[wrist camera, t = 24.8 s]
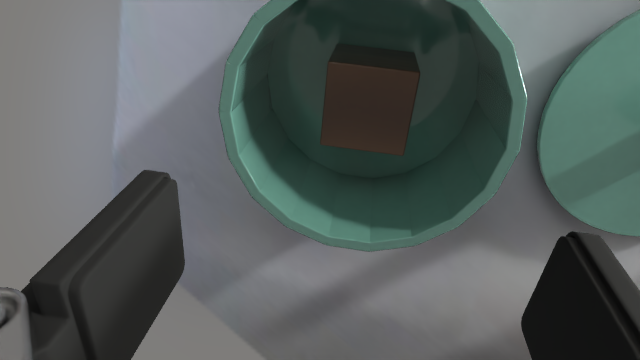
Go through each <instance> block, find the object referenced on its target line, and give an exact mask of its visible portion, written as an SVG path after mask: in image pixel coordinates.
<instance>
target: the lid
mask: <svg viewBox="0 0 640 360" xmlns="http://www.w3.org/2000/svg"><path fill="white" fill-rule="evenodd" d="M537 156H538V162H539V168H540V171H541V174H542V176H543V179H544V182H545V183H546V185H547V187H548V189H549V190H550V192H551V194H552V195H553V196H554V198H555V199H556V200H557V201H558V203H559V204H560V205H561V206H562V207H563V208H564V209H565V210H567V211H568V212H569V213H570V214H571V215H573V216H574V217H576V218H577V219H579V220H580V221H582V222H584V223H586V224H588V225H590V226H592V227H595V228H598V229H601V230H604V231H607V232H611V233H616V234H621V235H628V236H639V237H640V9H639V10H638V11H636V12H634V13H632V14H631V15H629V16H627V17H626V18H624V19H622V20H620V21H619V22H617V23H616V24H615V25H613V26H612V27H610V28H609V29H608V30H606V31H605V32H603V33H602V34H601V35H600V36H599V37H597V38H596V39H595V40H594V41H593V42H592V43H591V44H589V45H588V46H587V47H586V48H585V49H584V50H583V51H582V52H581V53H580V54H579V55H578V56H577V58H576V59H575V60H574V61H573V62H572V63H571V64H570V66H569V67H568V68H567V70H566V71H565V72H564V74H563V75H562V76H561V78H560V79H559V81H558V82H557V84H556V86H555V88H554V89H553V91H552V93H551V94H550V97H549V99H548V101H547V104H546V106H545V108H544V111H543V114H542V118H541V121H540V125H539V130H538V138H537Z"/></svg>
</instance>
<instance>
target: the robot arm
mask: <svg viewBox="0 0 640 360" xmlns="http://www.w3.org/2000/svg"><path fill="white" fill-rule="evenodd" d="M184 265H185V259H184V249H183V239H182V229H181V219H180V209H179V200H178V190H177V183H176V181H175V180H173V179H171V177H170V175H169V174H168V173H164V172H157V171H150V170H144V171H142V172H141V173H140V174H139V175H138V176H137V177H136V178H135V179H134V180H133V181H132V182H130V183H129V184H128V185H127V186H126V187H125V188H124V189H123V190H122V191H121V192H120V193H119V194H118V195H117V196H116V197H115V198H114V199H113V200H112V201H111V202H110V203H109V204H108V205H107V206H106V207H105V208H104V209H103V210H102V211H101V212H100V213H98V214H97V215H96V216H95V217H94V219H92V220H91V221H90V222H89V223H88V224H87V225H86V226H85V227H84V228H83V229H82V230H81V231H80V232H79V233H78V234H77V235H76V236H75V237H74V238H73V239H72V240H71V241H70V242H69V243H68V244H66V245H65V246H64V248H62V249H61V250H60V251H59V252H58V253H57V254H56V255H55V256H54V257H53V258H52V259H51V260H50V261H49V262H48V263H47V264H46V265H45V266H44V267H43V268H42V269H41V270H40V271H39V272H38V273H37V274H36V275H34V276H33V277H32V278H31V279H30V283H29V284H28V285H27V286H26V287H25V288H24V289H23V290H22V291H21V292H20V291H19V290H16V289H12V288H8V287H6V288H3V287H0V360H131V358H132V357H133V355H134V353H135V352H136V350H137V348H138V346H139V345H140V343H141V342H142V340H143V338H144V337H145V335H146V333H147V332H148V330H149V328H150V327H151V325H152V324H153V322H154V320H155V319H156V317H157V315H158V313H159V312H160V310H161V309H162V307H163V305H164V304H165V302H166V300H167V299H168V297H169V295H170V293H171V292H172V290H173V289H174V287H175V285H176V284H177V282H178V280H179V279H180V277H181V275H182V273H183V270H184ZM521 326H522V332H523V335H524V337H525V340H526V343H527V346H528V349H529V352H530V355H531V358H532V360H640V291H639V290H638V288H637V287H636V285H635V284H634V282H633V281H632V280H631V278H630V277H629V275H628V274H627V273H626V271H625V270H624V268H623V267H622V266H621V264H620V263H619V261H618V260H617V259H616V257H615V256H614V254H613V253H612V251H611V250H610V249H609V247H608V246H607V244H606V243H605V242H604V240H603V239H602V238H601V237H600V236H598V235H594V234H587V233H580V232H569V233H568V234H567V235H566V237H565V236H562V237H560V238H559V239H558V241H557V243H556V245H555V247H554V249H553V251H552V253H551V255H550V258H549V260H548V262H547V264H546V266H545V268H544V270H543V273H542V275H541V277H540V279H539V281H538V283H537V286H536V288H535V290H534V292H533V294H532V296H531V298H530V301H529V303H528V305H527V307H526V309H525V311H524V313H523V316H522V321H521Z"/></svg>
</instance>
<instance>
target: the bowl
mask: <svg viewBox="0 0 640 360" xmlns="http://www.w3.org/2000/svg"><path fill="white" fill-rule="evenodd" d="M338 43H339V44H347V45H356V46H364V47H373V48H381V49H390V50H399V51H407V52H414V53H415V56H416V59H417V63H418V66H419V70H420V79H419V84H418V89H417V94H416V98H415V103H414V108H413V113H412V118H411V123H410V128H409V133H408V138H407V143H406V148H405V152H404V155H403V156H399V155H391V154H384V153H377V152H369V151H362V150H354V149H347V148H340V147H332V146H325V145H320V137H321V127H322V116H323V106H324V96H325V85H326V75H327V64H328V61H329V59H330V57H331V55H332V53H333V51H334V49H335V47H336V45H337V44H338ZM526 105H527V94H526V90H525V86H524V82H523V78H522V74H521V71H520V67H519V63H518V59H517V55H516V51H515V47H514V45H513V42H512V41H511V40H510V39H509V37H508V36H507V35H506V33H505V32H504V31H503V30H502V28H501V27H500V26H499V25H498V23H497V22H496V21H495V19H494V18H493V17H492V16H491V14H490V13H489V12H488V10H487V9H486V8H485V7H484V5H483V4H482V3H481V2H480V0H270V1H269V2H268V3H267V4H265V5H264V6H263V7H262V8H260V9H259V10H258V11H257V12H255V13H254V15H253V16H252V17H251V19H250V20H249V22H248V24H247V26H246V27H245V29H244V31H243V33H242V34H241V36H240V38H239V40H238V41H237V43H236V45H235V46H234V48H233V50H232V52H231V53H230V55H229V57H228V59H227V62H226V65H225V71H224V78H223V84H222V91H221V97H220V104H219V116H220V121H221V126H222V130H223V135H224V140H225V145H226V150H227V155H228V157H229V160H230V162H231V163H232V165H233V167H234V168H235V170H236V172H237V173H238V175H239V177H240V178H241V180H242V182H243V183H244V185H245V187H246V188H247V190H248V192H249V194H250V195H251V196H252V198H253V199H255V200H256V201H257V202H258V203H259V204H260V205H261V206H262V207H264V208H265V209H266V210H267V211H268V212H269V213H270V214H272V215H273V216H274V217H275V218H276V219H277V220H278V221H279V222H281V223H282V224H283V225H284V226H286V227H287V228H290V229H292V230H294V231H296V232H298V233H301V234H303V235H305V236H307V237H309V238H311V239H314V240H316V241H318V242H320V243H322V244H326V245H328V246H335V247H341V248H348V249H354V250H361V251H368V252H370V251H371V252H372V251H380V250H387V249H395V248H403V247H411V246H415V245H419V244H421V243H423V242H425V241H428V240H430V239H432V238H435V237H437V236H439V235H441V234H444V233H446V232H448V231H450V230H453V229H455V228H457V227H458V226H460V225H461V224H462V223H464V222H465V221H466V220H467V219H468V218H469V217H470V216H471V215H473V214H474V213H475V212H476V211H477V210H478V209H479V208H481V207H482V206H483V205H484V204H485V203H486V202H487V201H488V200H490V199H491V198H492V197H493V196H494V194H496V192H497V190H498V189H499V187H500V185H501V183H502V181H503V180H504V178H505V176H506V174H507V173H508V171H509V169H510V167H511V165H512V164H513V162H514V160H515V158H516V157H517V155H518V153H519V150H520V147H521V140H522V133H523V126H524V119H525V112H526Z"/></svg>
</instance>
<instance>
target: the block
mask: <svg viewBox="0 0 640 360" xmlns="http://www.w3.org/2000/svg"><path fill="white" fill-rule="evenodd" d="M419 79H420V70H419V66H418V63H417V59H416V56H415V53H414V52H407V51H399V50H390V49H381V48H373V47H364V46H356V45H347V44H339V43H338V44H337V45H336V47H335V49H334V51H333V53H332V55H331V57H330V59H329V61H328V64H327V75H326V85H325V96H324V106H323V116H322V127H321V137H320V145H325V146H332V147H340V148H347V149H354V150H362V151H369V152H377V153H384V154H391V155H399V156H403V155H404V152H405V148H406V143H407V138H408V133H409V128H410V123H411V118H412V113H413V108H414V103H415V98H416V94H417V89H418V84H419Z"/></svg>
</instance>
